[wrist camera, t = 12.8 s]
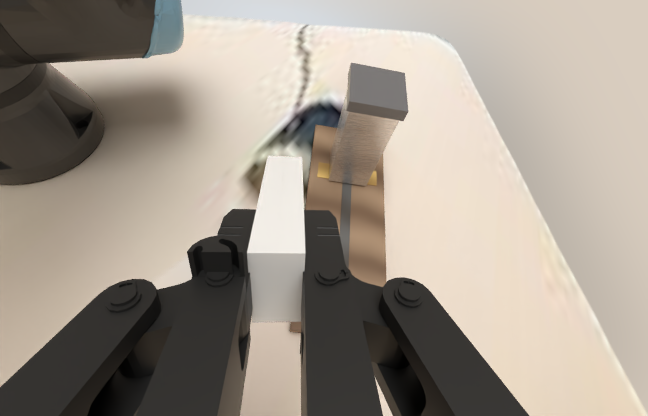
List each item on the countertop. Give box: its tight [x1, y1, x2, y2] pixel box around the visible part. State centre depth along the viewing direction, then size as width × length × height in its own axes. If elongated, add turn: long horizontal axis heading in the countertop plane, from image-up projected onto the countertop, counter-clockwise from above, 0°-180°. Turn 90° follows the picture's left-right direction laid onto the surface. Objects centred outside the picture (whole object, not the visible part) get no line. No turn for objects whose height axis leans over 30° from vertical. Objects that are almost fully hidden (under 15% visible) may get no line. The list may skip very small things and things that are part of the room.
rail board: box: [290, 125, 386, 333], centre depth 38 cm, size 28×10×2 cm, turn 176°
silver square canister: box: [329, 63, 408, 186], centre depth 35 cm, size 6×6×13 cm
